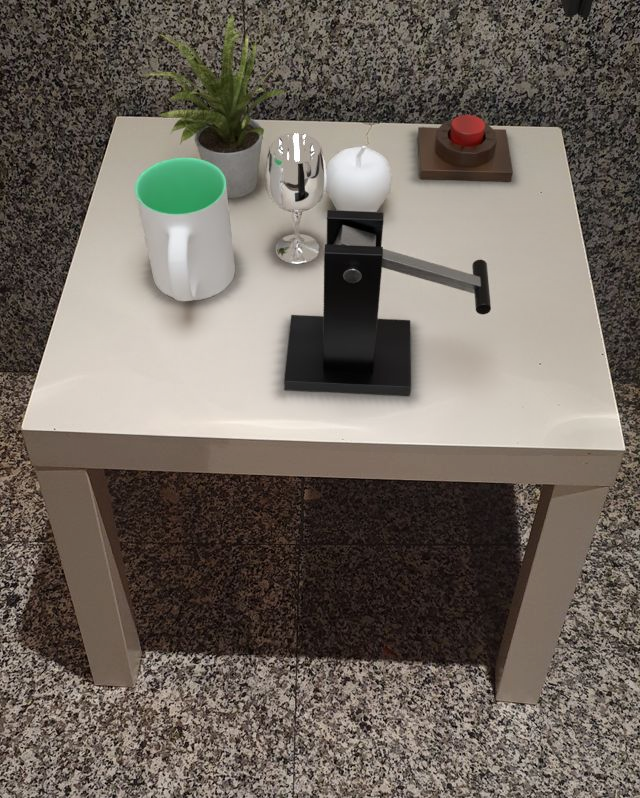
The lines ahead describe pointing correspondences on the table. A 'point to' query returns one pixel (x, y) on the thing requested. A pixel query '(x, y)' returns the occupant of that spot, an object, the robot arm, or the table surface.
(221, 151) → the house plant
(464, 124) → the button
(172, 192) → the mug
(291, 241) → the wineglass
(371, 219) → the bracket
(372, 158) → the plain white apple
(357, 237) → the lever
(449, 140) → the button block
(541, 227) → the table surface
